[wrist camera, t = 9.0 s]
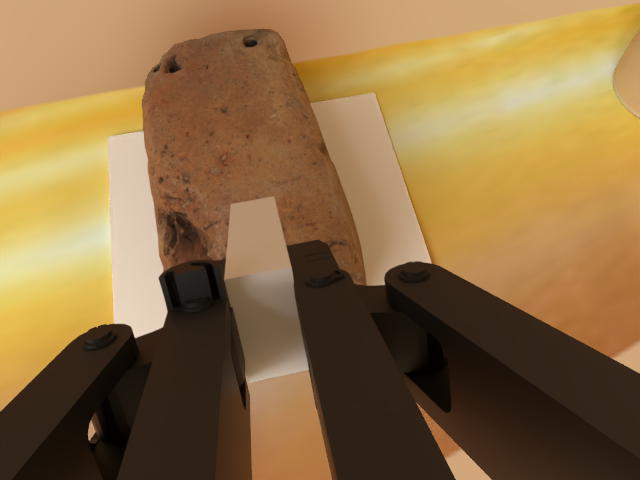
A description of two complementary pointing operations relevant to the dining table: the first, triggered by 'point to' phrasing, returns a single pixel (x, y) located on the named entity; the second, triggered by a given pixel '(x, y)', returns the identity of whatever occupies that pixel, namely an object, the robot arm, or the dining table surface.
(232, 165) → the block
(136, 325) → the mat
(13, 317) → the dining table surface
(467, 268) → the dining table surface
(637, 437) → the robot arm
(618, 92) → the coffee cup
